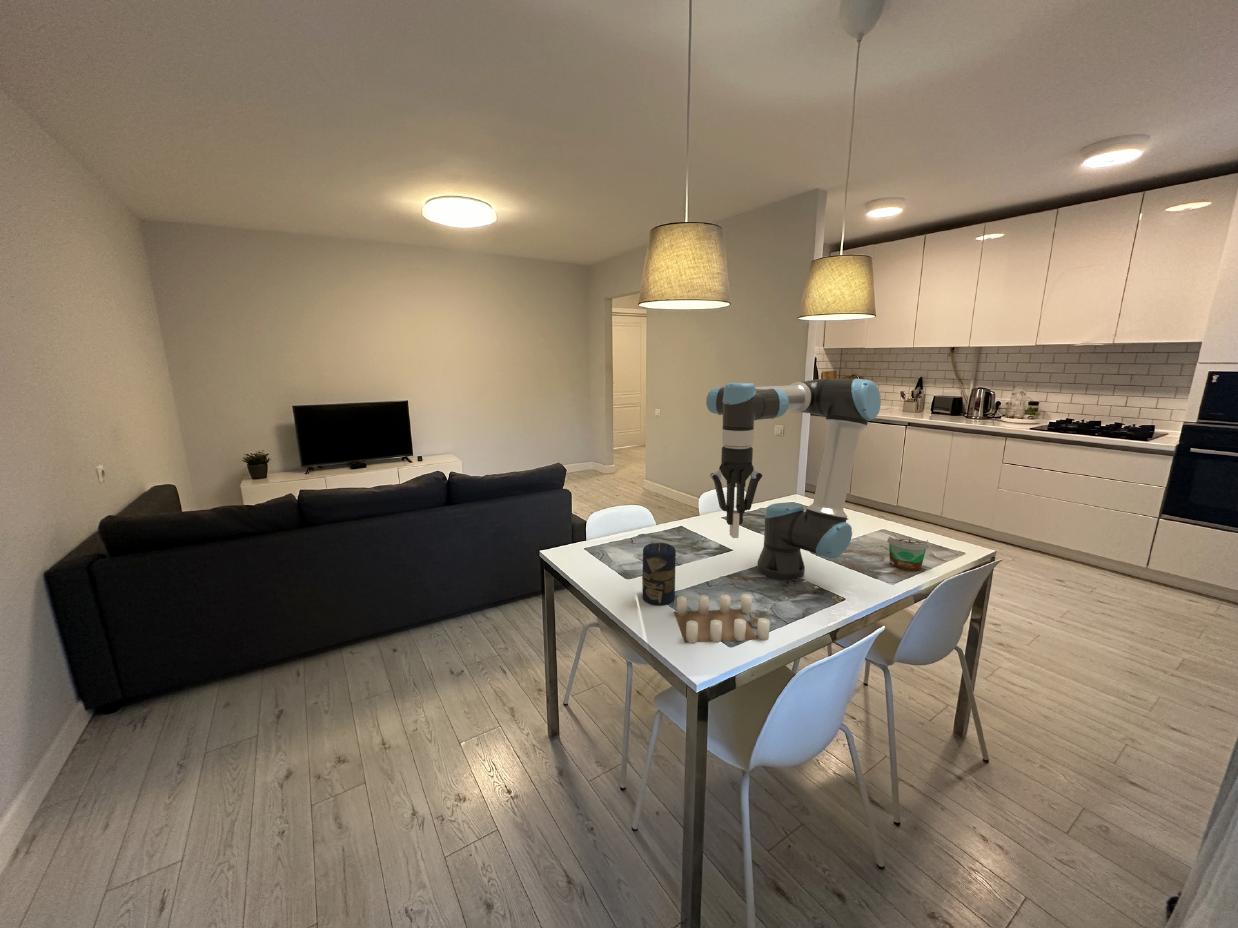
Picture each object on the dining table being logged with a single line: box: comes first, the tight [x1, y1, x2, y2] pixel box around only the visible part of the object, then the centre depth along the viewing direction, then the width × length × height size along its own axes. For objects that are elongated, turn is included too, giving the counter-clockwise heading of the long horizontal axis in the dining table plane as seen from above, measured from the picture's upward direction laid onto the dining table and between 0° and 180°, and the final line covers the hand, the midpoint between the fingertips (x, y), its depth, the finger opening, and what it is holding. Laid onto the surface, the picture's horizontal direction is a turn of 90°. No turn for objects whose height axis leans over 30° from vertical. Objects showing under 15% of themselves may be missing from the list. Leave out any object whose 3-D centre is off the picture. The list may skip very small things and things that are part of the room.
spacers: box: [676, 593, 771, 644], centre depth 125 cm, size 21×16×5 cm
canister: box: [641, 542, 677, 607], centre depth 138 cm, size 10×10×18 cm
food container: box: [887, 535, 930, 572], centre depth 160 cm, size 12×6×10 cm, turn 70°
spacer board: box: [673, 608, 759, 644], centre depth 126 cm, size 26×15×1 cm, turn 94°
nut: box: [748, 608, 772, 629], centre depth 126 cm, size 5×6×3 cm
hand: (733, 536), depth 123 cm, fingers closed
